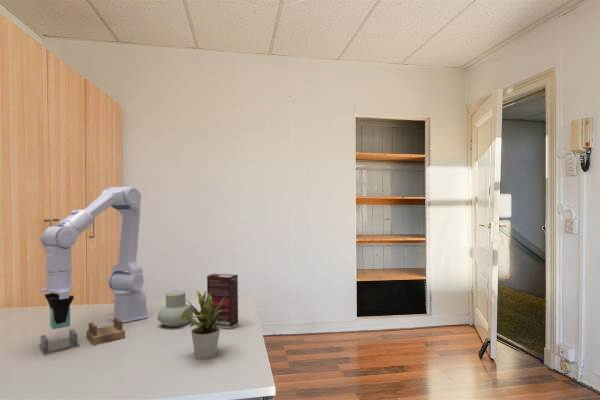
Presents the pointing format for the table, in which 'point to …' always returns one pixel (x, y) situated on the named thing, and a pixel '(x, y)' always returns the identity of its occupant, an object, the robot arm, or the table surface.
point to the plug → (60, 325)
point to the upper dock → (105, 332)
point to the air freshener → (175, 310)
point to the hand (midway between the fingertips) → (59, 320)
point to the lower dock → (59, 343)
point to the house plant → (204, 327)
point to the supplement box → (224, 298)
